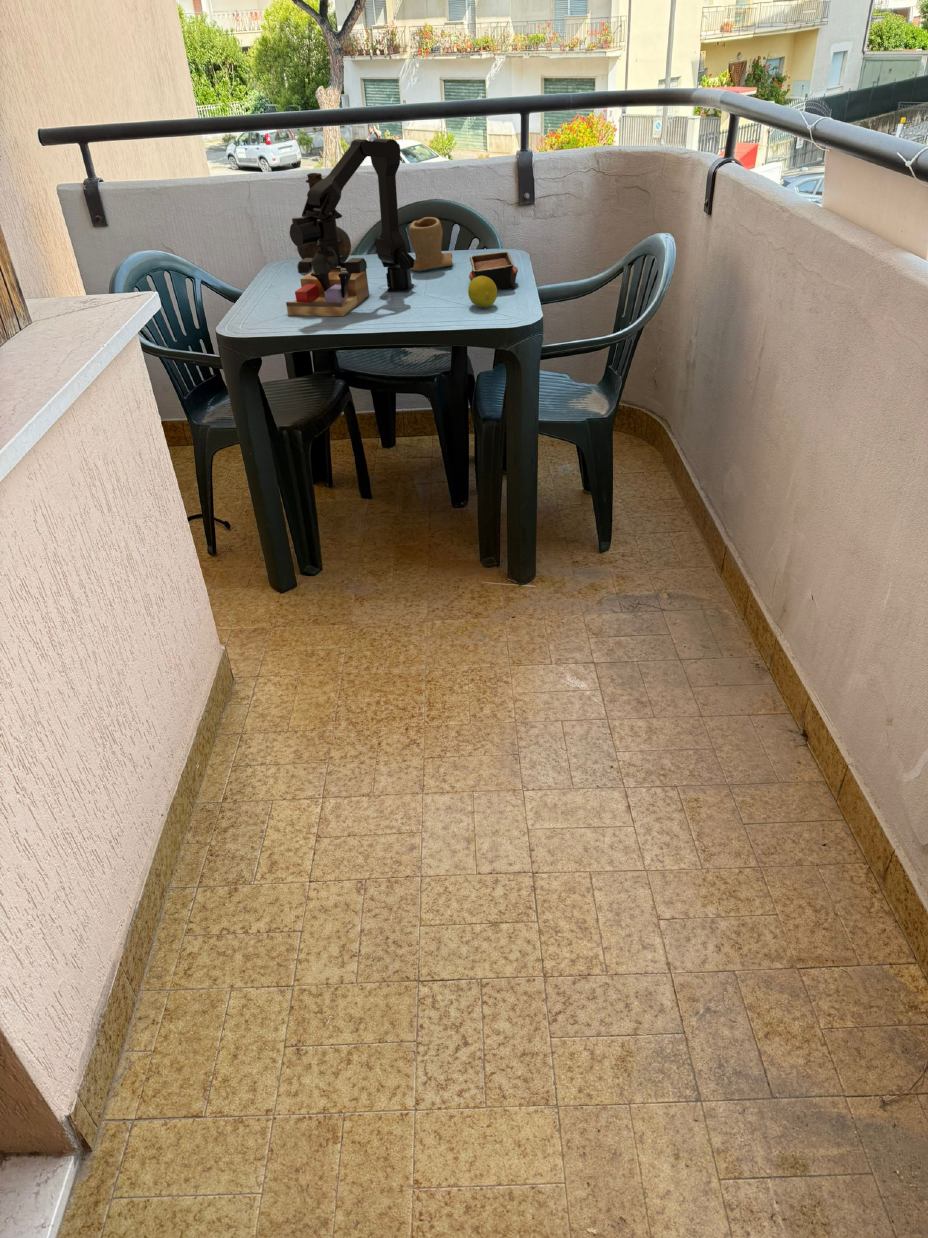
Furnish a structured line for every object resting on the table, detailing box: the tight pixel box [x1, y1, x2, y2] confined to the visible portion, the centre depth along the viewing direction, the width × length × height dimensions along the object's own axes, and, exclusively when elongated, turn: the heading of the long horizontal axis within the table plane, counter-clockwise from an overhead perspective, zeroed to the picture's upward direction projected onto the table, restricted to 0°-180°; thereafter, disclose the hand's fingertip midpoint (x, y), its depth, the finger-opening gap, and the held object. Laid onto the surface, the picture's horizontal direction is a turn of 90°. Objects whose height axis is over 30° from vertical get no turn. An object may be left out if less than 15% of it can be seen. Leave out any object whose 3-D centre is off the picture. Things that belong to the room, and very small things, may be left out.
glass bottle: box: [296, 172, 352, 262], centre depth 273 cm, size 18×18×28 cm
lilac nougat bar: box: [324, 285, 348, 303], centre depth 237 cm, size 4×8×3 cm, turn 164°
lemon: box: [467, 276, 498, 308], centre depth 231 cm, size 11×8×8 cm
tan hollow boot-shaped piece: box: [408, 216, 453, 272], centre depth 265 cm, size 15×12×15 cm
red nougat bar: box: [294, 284, 319, 302], centre depth 239 cm, size 4×8×3 cm, turn 164°
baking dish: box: [468, 251, 519, 291], centre depth 248 cm, size 14×18×10 cm
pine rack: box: [285, 265, 370, 317], centre depth 241 cm, size 17×20×8 cm
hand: (336, 297), depth 237 cm, fingers open, 4 cm apart
